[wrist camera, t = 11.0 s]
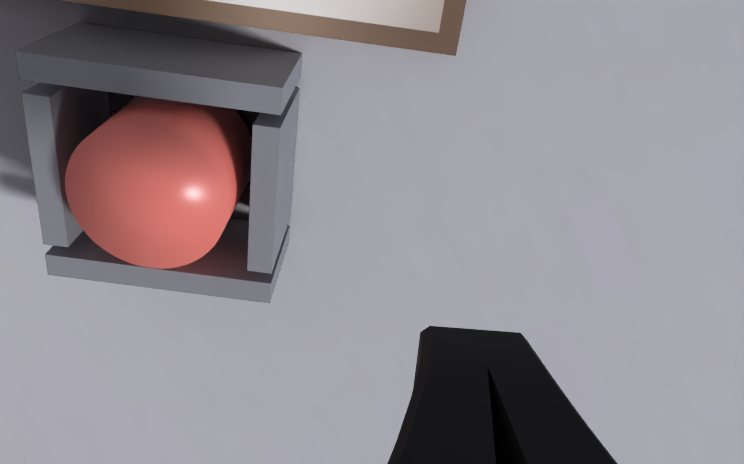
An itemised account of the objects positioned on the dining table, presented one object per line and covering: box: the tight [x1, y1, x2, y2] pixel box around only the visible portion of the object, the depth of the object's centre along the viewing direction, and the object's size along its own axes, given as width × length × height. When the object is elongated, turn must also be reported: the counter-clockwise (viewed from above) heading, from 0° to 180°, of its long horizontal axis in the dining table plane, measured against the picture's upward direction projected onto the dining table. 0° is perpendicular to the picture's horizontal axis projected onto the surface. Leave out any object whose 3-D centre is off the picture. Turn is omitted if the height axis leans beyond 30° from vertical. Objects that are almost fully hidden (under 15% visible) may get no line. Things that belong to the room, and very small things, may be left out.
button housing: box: [15, 23, 302, 303], centre depth 16 cm, size 6×6×3 cm
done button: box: [65, 96, 252, 269], centre depth 16 cm, size 4×4×3 cm
